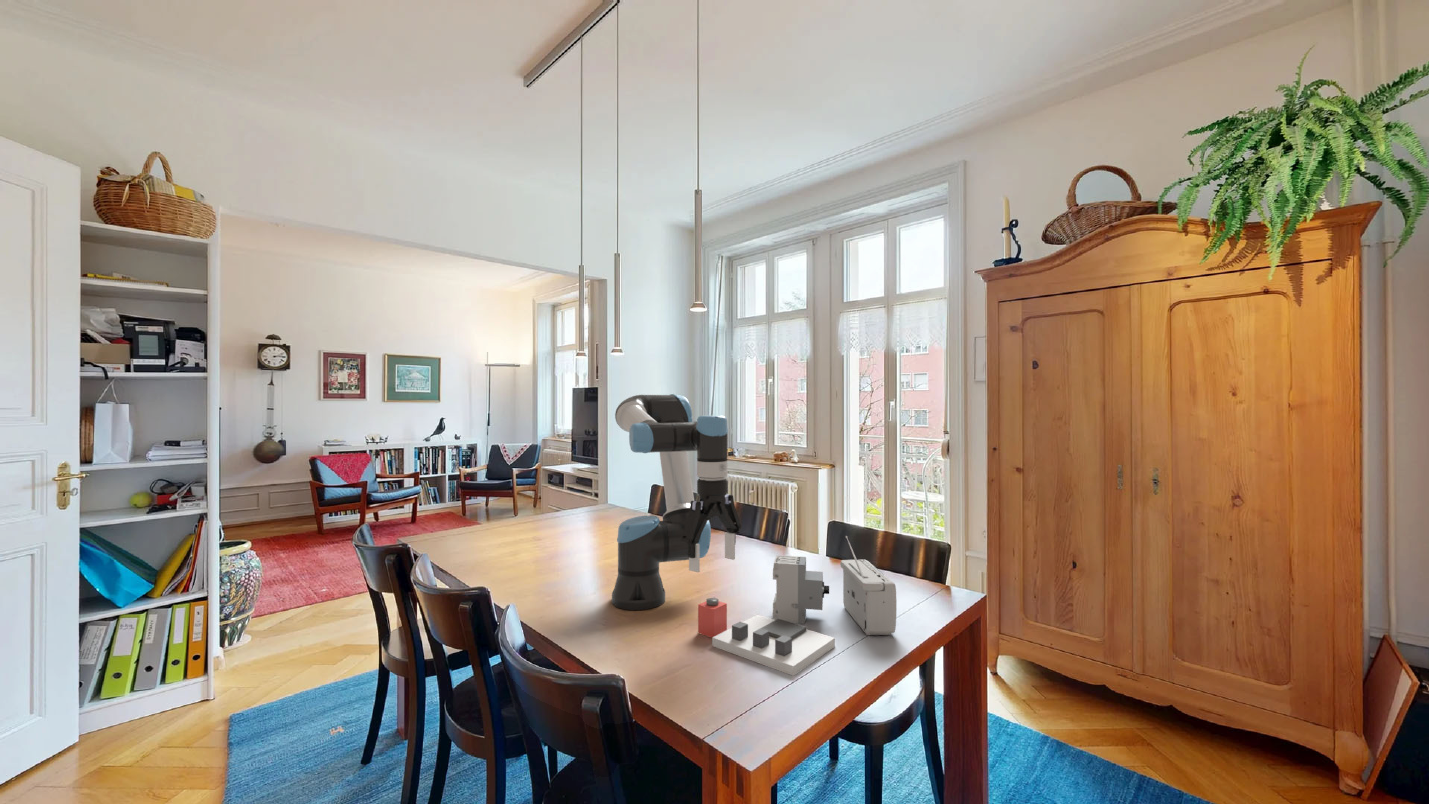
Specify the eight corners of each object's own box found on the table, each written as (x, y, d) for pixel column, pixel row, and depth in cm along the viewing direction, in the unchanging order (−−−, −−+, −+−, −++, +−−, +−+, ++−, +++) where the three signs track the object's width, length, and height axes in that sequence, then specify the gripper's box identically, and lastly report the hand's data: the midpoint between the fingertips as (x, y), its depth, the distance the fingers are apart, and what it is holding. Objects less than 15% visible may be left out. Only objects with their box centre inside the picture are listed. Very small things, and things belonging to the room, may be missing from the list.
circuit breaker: (829, 625, 143) (829, 566, 143) (772, 621, 146) (772, 563, 146) (829, 614, 151) (829, 558, 151) (775, 610, 154) (775, 555, 154)
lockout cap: (698, 632, 139) (698, 600, 139) (711, 626, 143) (711, 595, 143) (713, 638, 136) (713, 605, 136) (726, 631, 140) (726, 599, 140)
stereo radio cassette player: (897, 637, 136) (897, 554, 136) (864, 638, 136) (864, 555, 136) (868, 605, 157) (868, 533, 157) (839, 606, 157) (839, 534, 156)
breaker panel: (712, 646, 132) (712, 624, 132) (757, 622, 145) (757, 602, 145) (793, 675, 117) (793, 651, 117) (834, 646, 131) (834, 624, 131)
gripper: (689, 485, 127) (689, 580, 127) (754, 474, 146) (754, 556, 146) (665, 482, 132) (666, 573, 132) (731, 472, 151) (732, 551, 151)
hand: (712, 564), depth 139 cm, fingers open, 13 cm apart
